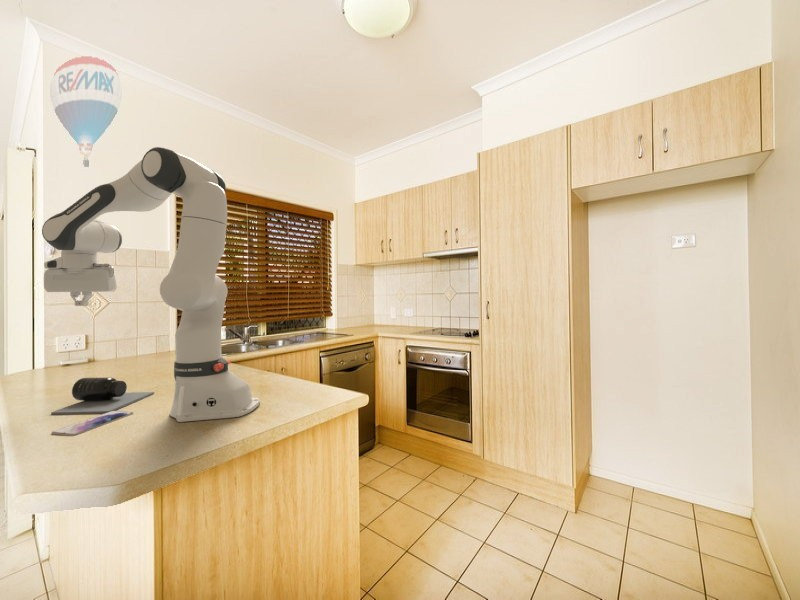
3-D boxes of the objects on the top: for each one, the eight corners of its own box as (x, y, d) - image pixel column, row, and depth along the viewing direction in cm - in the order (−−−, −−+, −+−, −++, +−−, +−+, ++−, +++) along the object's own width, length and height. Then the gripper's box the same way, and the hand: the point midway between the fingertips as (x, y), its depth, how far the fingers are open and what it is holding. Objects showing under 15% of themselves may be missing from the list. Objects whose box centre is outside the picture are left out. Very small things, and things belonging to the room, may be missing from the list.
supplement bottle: (94, 382, 108) (133, 382, 109) (83, 403, 104) (123, 403, 105) (78, 373, 103) (119, 374, 103) (66, 395, 99) (108, 396, 99)
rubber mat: (154, 393, 112) (154, 392, 112) (109, 413, 94) (109, 411, 94) (105, 394, 111) (105, 393, 111) (51, 414, 93) (51, 412, 93)
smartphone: (134, 412, 93) (74, 434, 79) (134, 415, 93) (74, 438, 79) (113, 410, 95) (49, 432, 80) (113, 413, 95) (49, 435, 80)
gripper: (120, 264, 114) (121, 305, 115) (57, 264, 113) (59, 305, 114) (105, 262, 108) (106, 306, 108) (38, 263, 107) (39, 306, 107)
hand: (81, 306), depth 111 cm, fingers closed
